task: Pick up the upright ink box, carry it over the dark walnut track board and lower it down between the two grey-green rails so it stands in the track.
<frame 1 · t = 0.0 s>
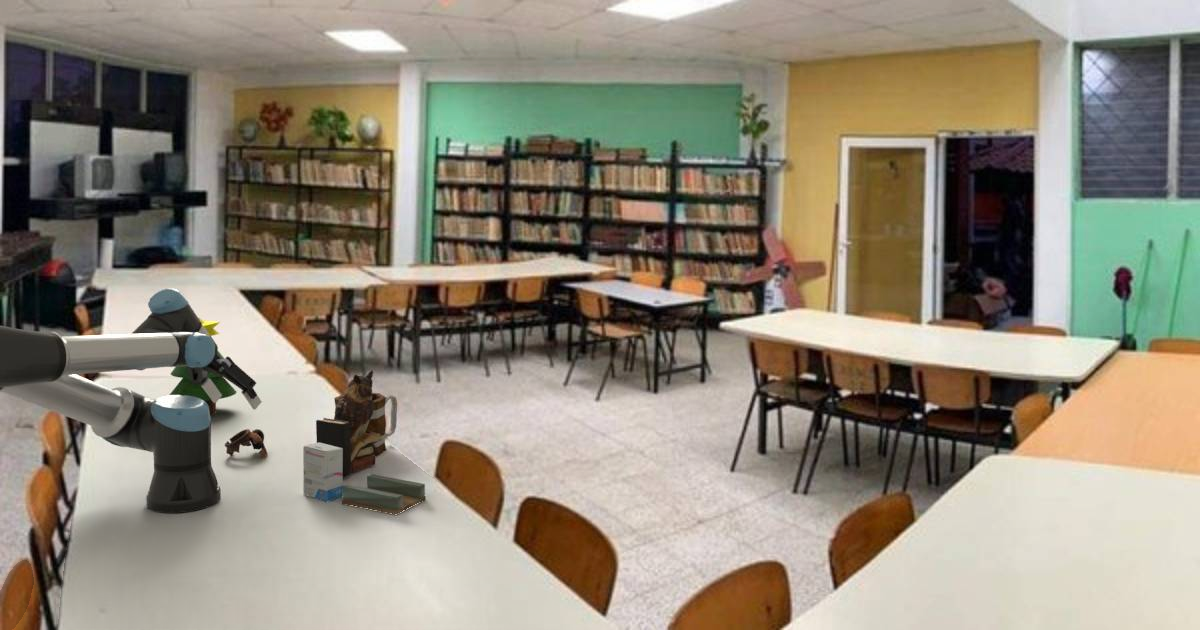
hand: (237, 402, 230), 15 cm above the table, tool tilted 35°, fingers open, 13 cm apart
decorative tree: (203, 413, 278), on the table
track: (384, 502, 204), on the table
brown carved ornament: (249, 456, 236), on the table
ink box: (323, 496, 208), on the table
bookend: (350, 471, 227), on the table
mug: (369, 449, 245), on the table
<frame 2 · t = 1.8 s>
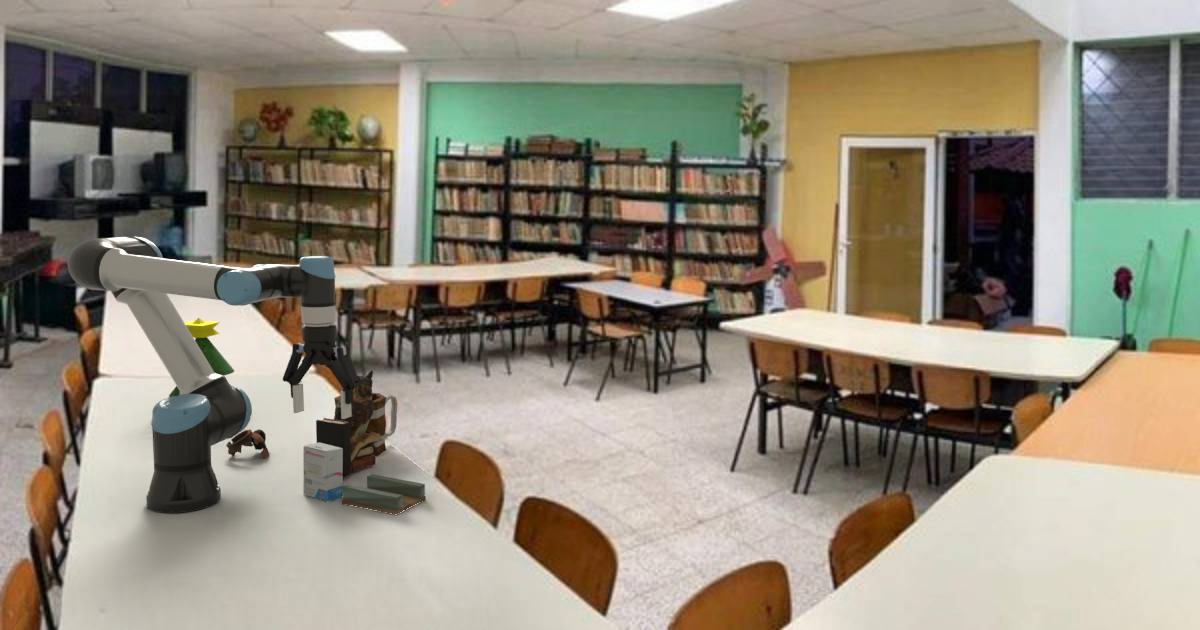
hand: (322, 414, 207), 19 cm above the table, tool pointing down, fingers open, 13 cm apart
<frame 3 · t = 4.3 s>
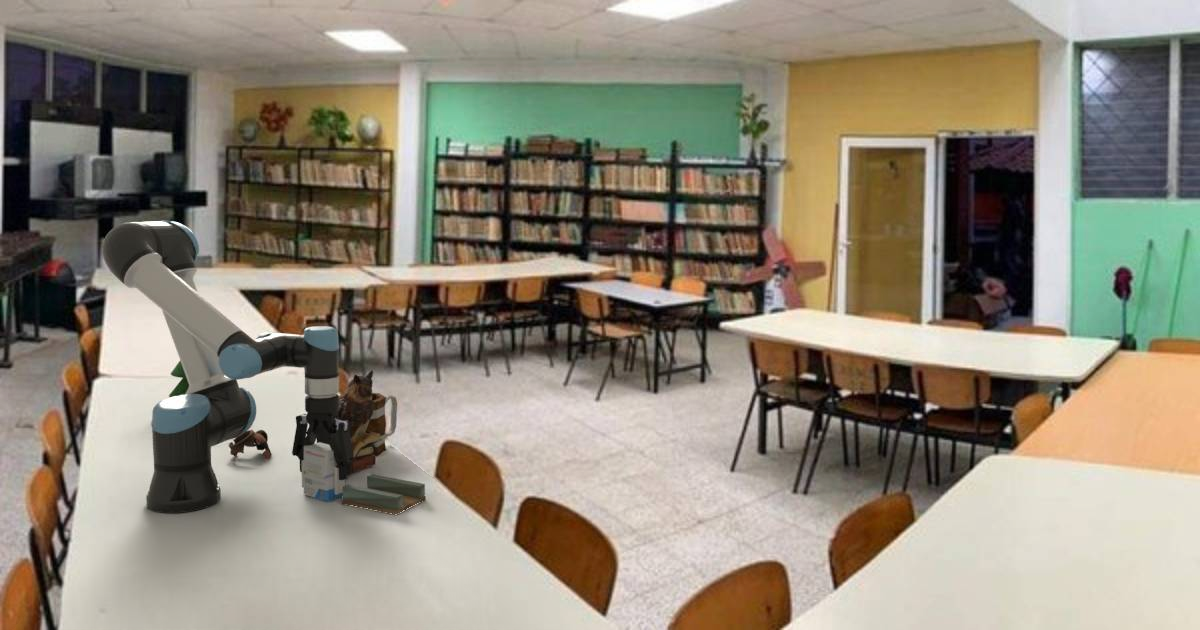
hand: (323, 489, 207), 1 cm above the table, tool pointing down, fingers closed on ink box, 9 cm apart
ink box: (323, 496, 208), on the table, touching gripper
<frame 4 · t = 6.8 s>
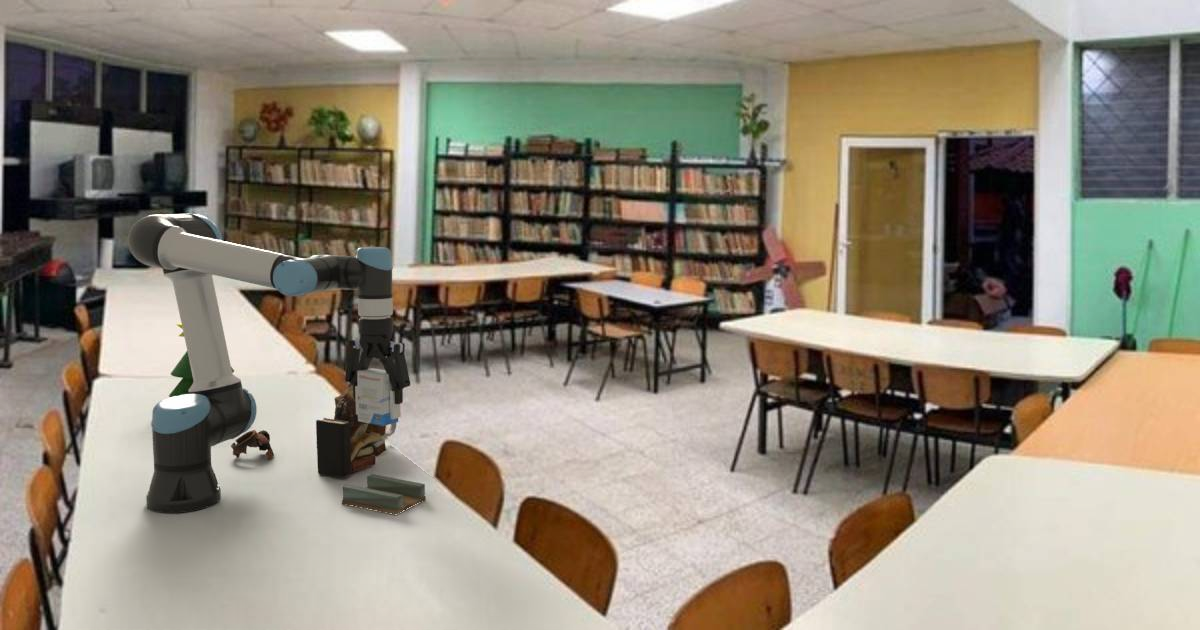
hand: (378, 415, 202), 20 cm above the table, tool pointing down, fingers closed on ink box, 9 cm apart
ink box: (378, 422, 202), point 19 cm above the table, touching gripper
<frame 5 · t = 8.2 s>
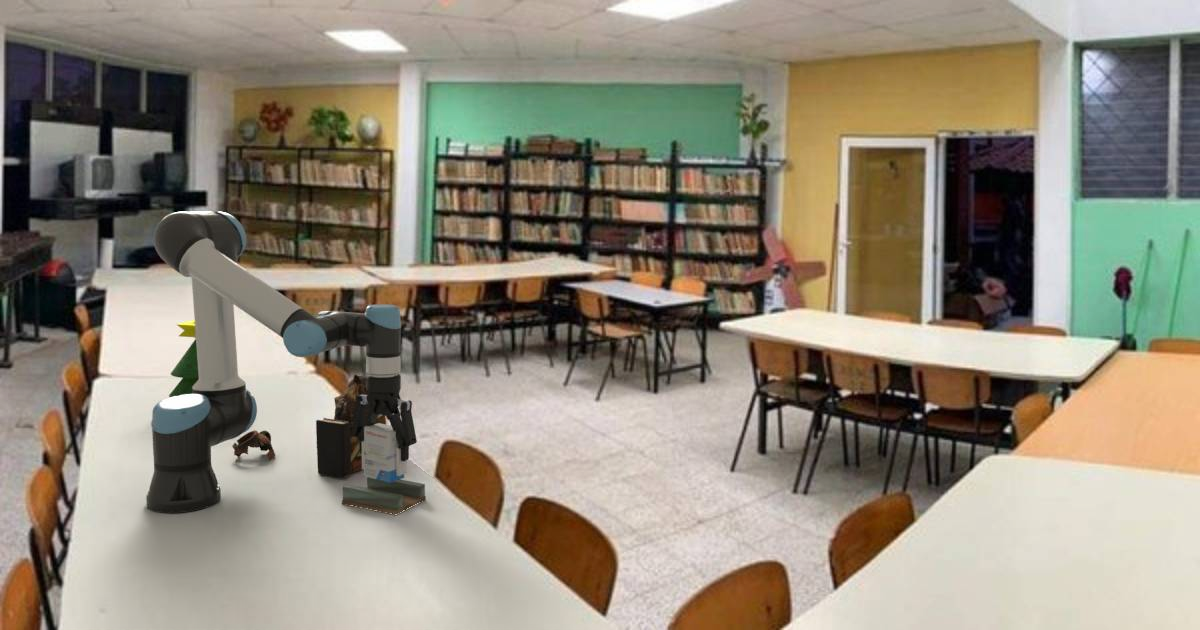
hand: (383, 470, 203), 7 cm above the table, tool pointing down, fingers closed on ink box, 9 cm apart
ink box: (384, 478, 203), point 6 cm above the table, touching gripper
when the fingers open (4 cm above the table, at t = 9.4 s): ink box drops 1 cm, resting on track.
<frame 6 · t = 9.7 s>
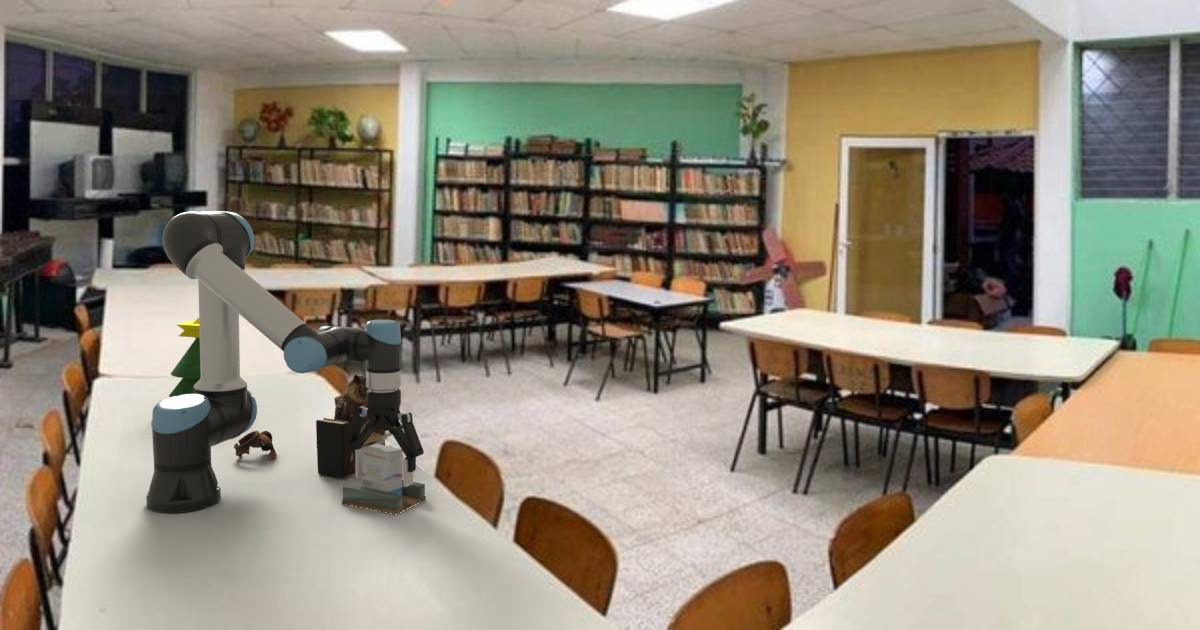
hand: (384, 480, 204), 5 cm above the table, tool pointing down, fingers open, 13 cm apart
ink box: (382, 498, 204), point 1 cm above the table, touching track
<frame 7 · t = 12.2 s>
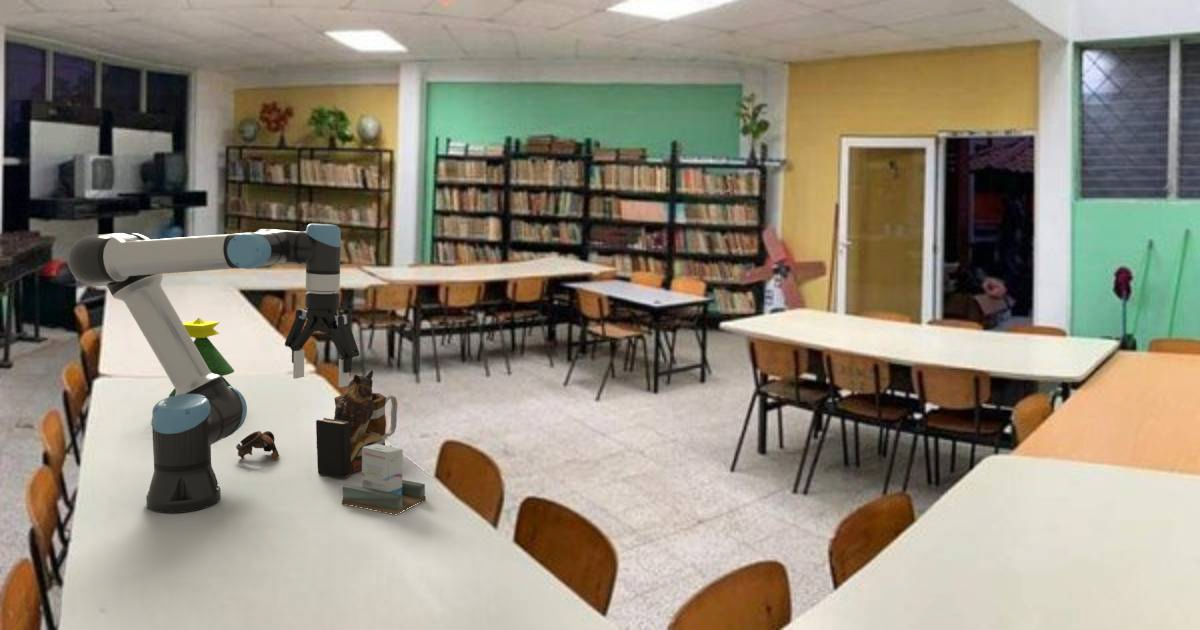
hand: (320, 381, 208), 26 cm above the table, tool pointing down, fingers open, 13 cm apart
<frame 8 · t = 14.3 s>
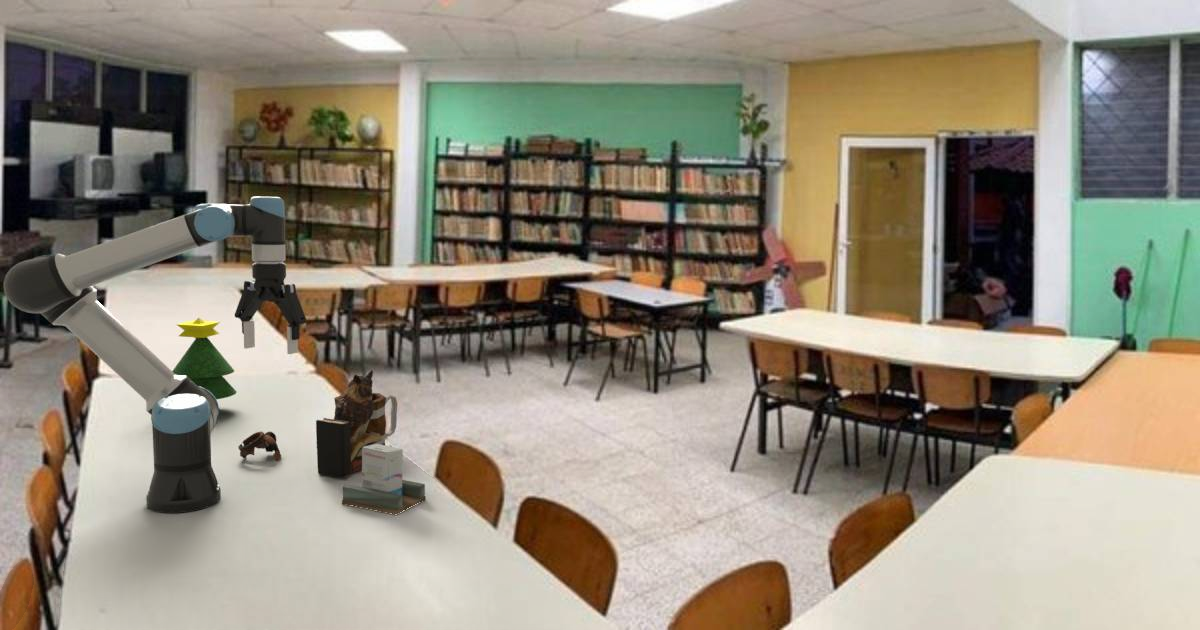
hand: (270, 350, 214), 32 cm above the table, tool pointing down, fingers open, 13 cm apart
at the end: ink box inside the target area on the track (0.5 cm from its centre), point 0.8 cm above the track's base; ink box tilted 0°; the gripper is holding nothing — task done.
